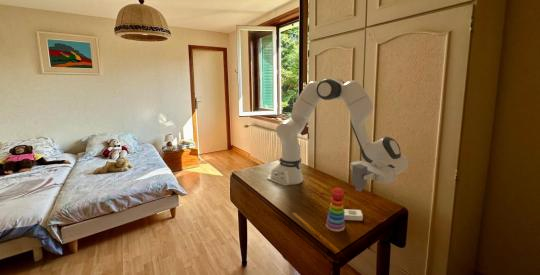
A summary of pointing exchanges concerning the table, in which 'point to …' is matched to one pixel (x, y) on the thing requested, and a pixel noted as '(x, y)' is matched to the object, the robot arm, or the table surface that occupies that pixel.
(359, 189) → the gray rectangular block
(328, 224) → the stacking toy
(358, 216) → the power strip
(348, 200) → the table surface
